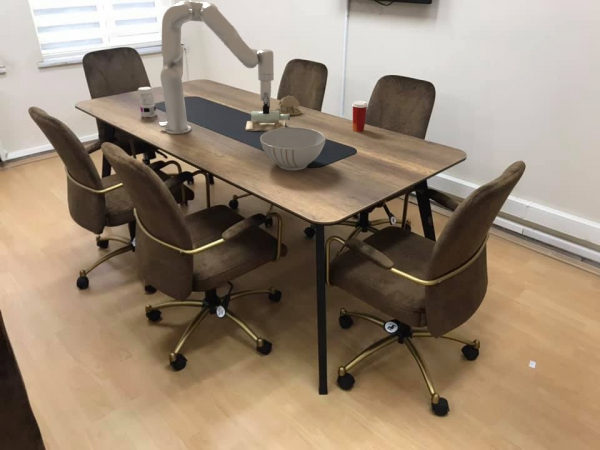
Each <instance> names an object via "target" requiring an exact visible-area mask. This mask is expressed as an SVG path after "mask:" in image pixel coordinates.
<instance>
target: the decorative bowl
mask: <svg viewBox="0 0 600 450" xmlns="http://www.w3.org/2000/svg"><path fill="white" fill-rule="evenodd" d="M259 139H260V144H261V147H262V149H263V151H264V153H265V154H266V156H267V157H268V158H269V159H270V160H271V161H272V162H273V163H275V164H277V165H278V167H279V168H280V169H282V170H285V171H300V170H301V171H302V170H303V169H306V168H307V167H308V165H309V164H311V163H312V162H314V161H315V160H316V159H317V157H318V156H319V155H320V154H321V152H322V150H323V148H324V147H325V144H326V136H325V135H324V133H322V132H321V131H318V130H316V129H312V128H306V127H299V126H298V127H297V126H294V127H293V126H292V127H286V126H285V128H278V129H273V130H270V131H264V133H262V134H261V135H260V137H259Z"/></svg>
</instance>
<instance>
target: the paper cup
mask: <svg viewBox="0 0 600 450" xmlns="http://www.w3.org/2000/svg"><path fill="white" fill-rule="evenodd" d="M351 106H352V131H353V132H355V133H361V132H364V131H365V125H366V117H367V109H368V106H369V105H368V102H367V101H365V100H363V101H362V100H356V101H353V102H352V104H351Z"/></svg>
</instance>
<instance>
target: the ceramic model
mask: <svg viewBox="0 0 600 450" xmlns="http://www.w3.org/2000/svg"><path fill="white" fill-rule="evenodd" d="M278 107H279V108H277V107H276V108H275V110H274V111H279V114H290V116H298V115H301V114H302V111H301V110H300V109H299V107H300V102H299V101H298V100H297V98H295V97H294V95H292V96H290V94H289V95H287V96H284V97H282V98H281V99H280V100H279V101H278Z"/></svg>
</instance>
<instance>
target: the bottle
mask: <svg viewBox="0 0 600 450" xmlns="http://www.w3.org/2000/svg"><path fill="white" fill-rule="evenodd" d="M250 116H251V117H250V119H251V120H250V121H252V120H256V121H257V123H274V120H278V123H279V121H291V115H290V114H279V111H275V110H269V114H263V110H262V111H261V110H252V111H251V113H250Z"/></svg>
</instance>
